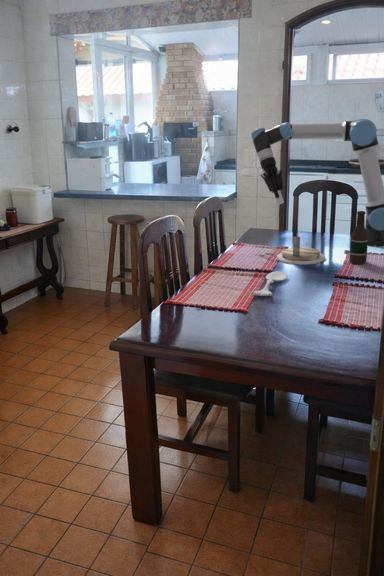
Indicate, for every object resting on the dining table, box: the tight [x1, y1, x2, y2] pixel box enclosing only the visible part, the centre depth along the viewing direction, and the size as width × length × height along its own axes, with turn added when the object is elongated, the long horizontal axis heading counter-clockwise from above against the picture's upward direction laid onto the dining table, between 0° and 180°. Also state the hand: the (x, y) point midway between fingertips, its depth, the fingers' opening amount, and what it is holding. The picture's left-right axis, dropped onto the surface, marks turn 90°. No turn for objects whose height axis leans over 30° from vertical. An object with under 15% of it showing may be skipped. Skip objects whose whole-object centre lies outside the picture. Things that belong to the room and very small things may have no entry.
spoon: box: [249, 270, 288, 297], centre depth 211 cm, size 9×32×4 cm, turn 157°
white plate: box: [276, 252, 326, 266], centre depth 251 cm, size 23×23×1 cm
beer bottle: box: [349, 210, 369, 265], centre depth 237 cm, size 8×8×24 cm
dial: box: [281, 236, 321, 261], centre depth 249 cm, size 18×18×11 cm
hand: (281, 203), depth 257 cm, fingers closed
